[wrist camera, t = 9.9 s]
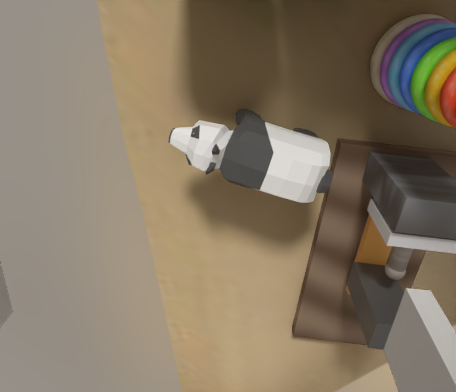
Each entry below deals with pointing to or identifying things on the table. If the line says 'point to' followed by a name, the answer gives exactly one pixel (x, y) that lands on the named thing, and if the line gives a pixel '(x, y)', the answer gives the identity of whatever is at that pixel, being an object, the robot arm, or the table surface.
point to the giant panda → (259, 156)
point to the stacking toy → (418, 67)
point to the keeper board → (356, 220)
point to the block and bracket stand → (382, 274)
